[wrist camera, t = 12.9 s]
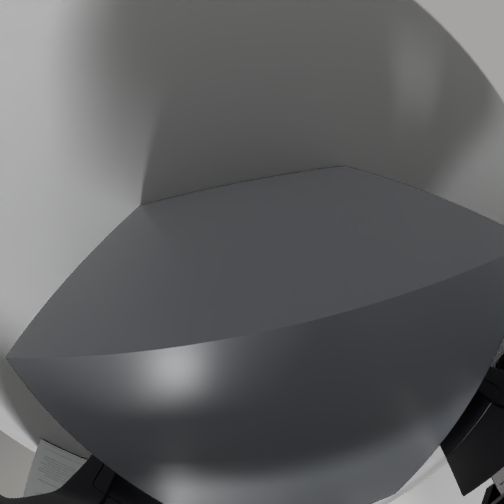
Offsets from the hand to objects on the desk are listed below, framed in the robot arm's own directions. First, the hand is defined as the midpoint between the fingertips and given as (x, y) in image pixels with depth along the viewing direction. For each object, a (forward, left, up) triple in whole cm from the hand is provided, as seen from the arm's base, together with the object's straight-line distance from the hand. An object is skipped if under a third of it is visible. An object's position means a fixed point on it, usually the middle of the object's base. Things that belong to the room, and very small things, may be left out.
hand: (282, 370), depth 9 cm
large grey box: (0, 0, -3) cm, 3 cm away
